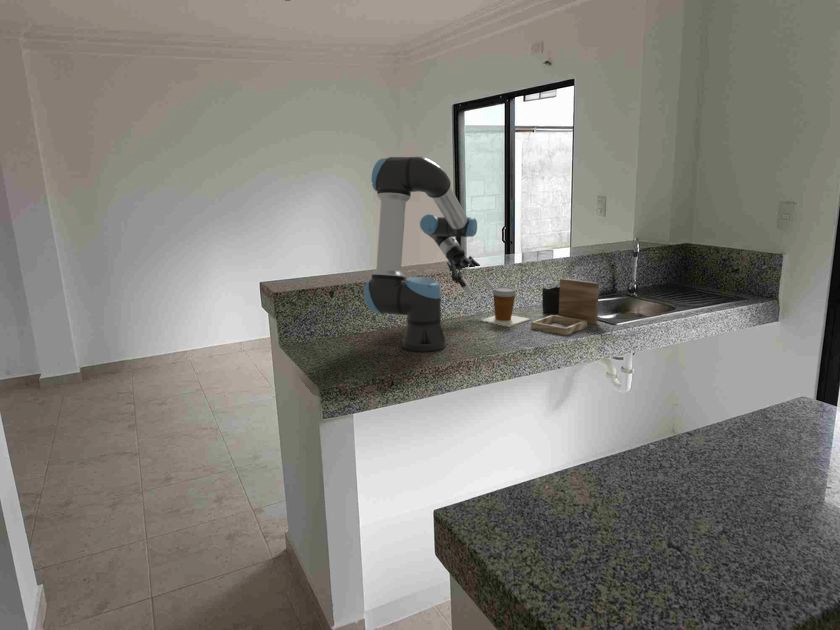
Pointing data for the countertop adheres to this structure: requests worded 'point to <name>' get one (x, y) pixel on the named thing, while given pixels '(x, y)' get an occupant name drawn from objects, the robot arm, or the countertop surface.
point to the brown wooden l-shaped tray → (572, 307)
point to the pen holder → (550, 300)
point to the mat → (508, 323)
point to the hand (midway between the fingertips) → (480, 290)
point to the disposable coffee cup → (503, 302)
